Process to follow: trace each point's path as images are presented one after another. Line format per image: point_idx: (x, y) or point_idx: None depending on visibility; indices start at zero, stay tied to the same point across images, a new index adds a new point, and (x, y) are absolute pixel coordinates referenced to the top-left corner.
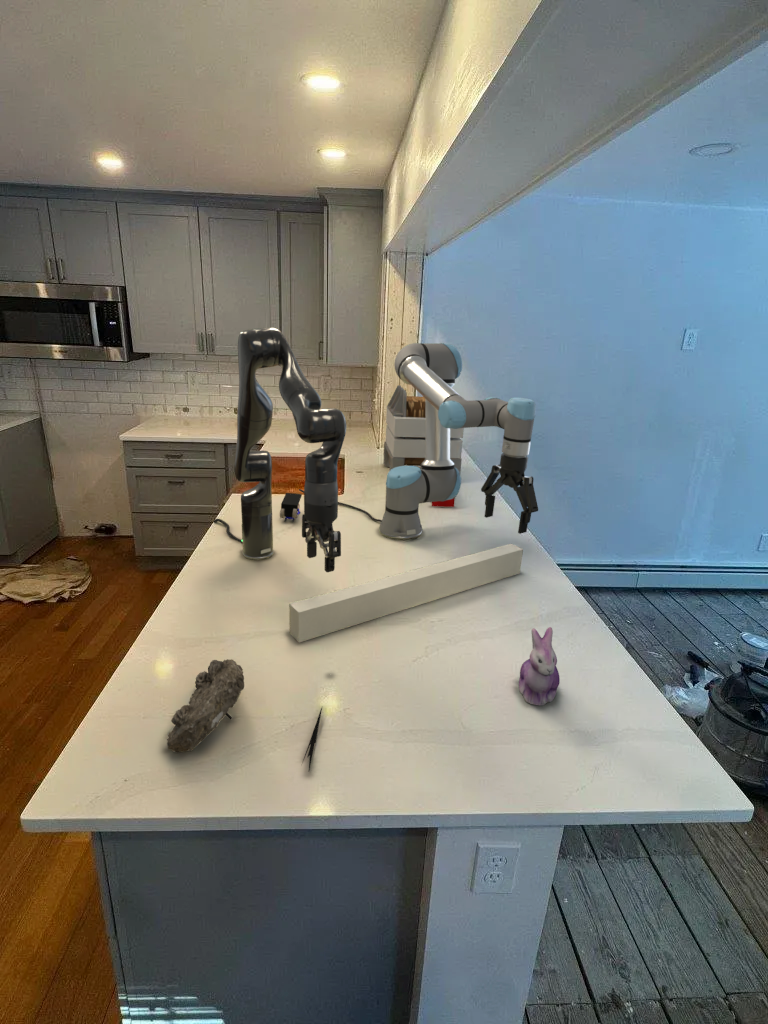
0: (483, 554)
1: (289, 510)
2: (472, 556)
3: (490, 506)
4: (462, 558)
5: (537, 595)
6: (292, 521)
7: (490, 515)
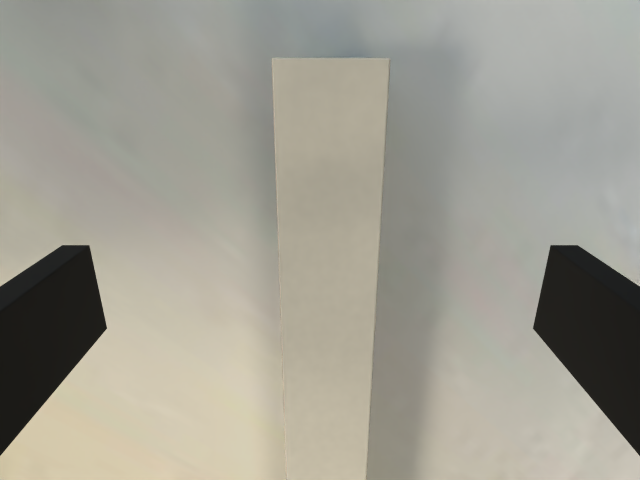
0: (317, 334)
1: None
2: (307, 392)
3: (23, 367)
4: (301, 439)
5: (564, 171)
6: None
7: (88, 282)
